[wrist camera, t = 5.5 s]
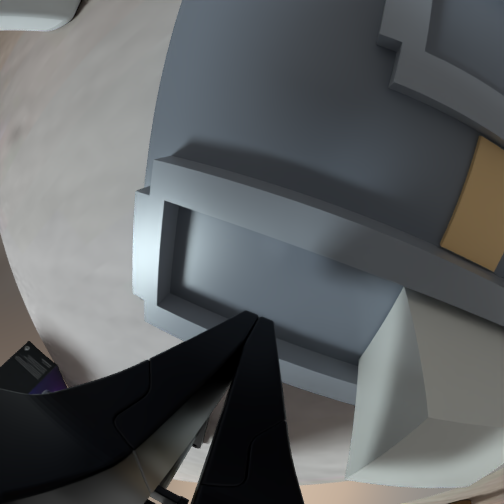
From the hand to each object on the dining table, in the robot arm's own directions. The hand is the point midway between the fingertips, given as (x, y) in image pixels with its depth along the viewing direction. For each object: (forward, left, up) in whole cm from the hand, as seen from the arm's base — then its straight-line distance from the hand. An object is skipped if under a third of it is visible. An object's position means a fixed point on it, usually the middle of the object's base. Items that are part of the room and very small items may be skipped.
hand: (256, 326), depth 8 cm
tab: (0, -6, -2) cm, 7 cm away
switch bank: (+5, -6, -4) cm, 9 cm away
